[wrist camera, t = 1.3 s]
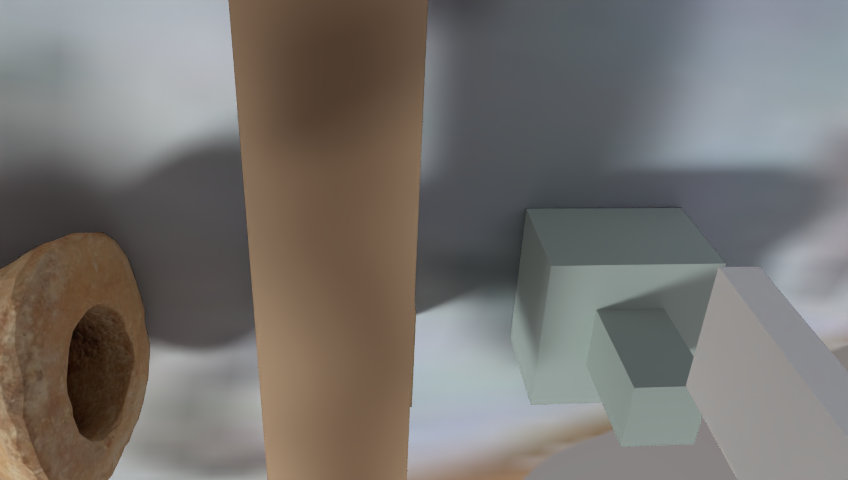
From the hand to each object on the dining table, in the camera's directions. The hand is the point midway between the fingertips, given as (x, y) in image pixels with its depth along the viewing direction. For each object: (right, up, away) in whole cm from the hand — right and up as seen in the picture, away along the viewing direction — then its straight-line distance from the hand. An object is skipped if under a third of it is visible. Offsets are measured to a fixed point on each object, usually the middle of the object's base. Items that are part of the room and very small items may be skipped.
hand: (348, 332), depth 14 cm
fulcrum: (+8, 0, +17) cm, 19 cm away
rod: (-1, +5, +8) cm, 9 cm away
